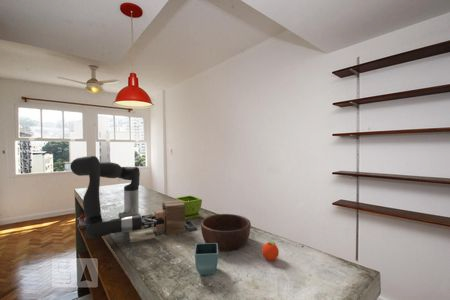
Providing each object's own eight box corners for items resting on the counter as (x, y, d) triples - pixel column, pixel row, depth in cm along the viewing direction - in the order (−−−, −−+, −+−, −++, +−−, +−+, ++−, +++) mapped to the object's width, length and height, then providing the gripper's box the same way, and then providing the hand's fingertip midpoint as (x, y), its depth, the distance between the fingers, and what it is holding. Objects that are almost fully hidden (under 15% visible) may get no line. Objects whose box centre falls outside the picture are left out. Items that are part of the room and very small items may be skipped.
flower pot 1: (184, 222, 133) (184, 202, 133) (173, 216, 144) (173, 197, 144) (202, 217, 143) (202, 198, 142) (191, 212, 153) (191, 194, 153)
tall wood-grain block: (154, 229, 120) (154, 210, 120) (180, 225, 127) (180, 206, 127) (156, 234, 114) (156, 213, 114) (183, 229, 121) (183, 210, 121)
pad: (128, 232, 118) (128, 231, 118) (151, 228, 123) (151, 228, 123) (130, 242, 105) (130, 242, 105) (155, 237, 111) (155, 237, 111)
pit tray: (182, 223, 130) (182, 221, 130) (190, 222, 133) (190, 220, 132) (188, 231, 120) (188, 228, 120) (196, 229, 122) (196, 226, 122)
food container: (128, 231, 119) (127, 213, 118) (118, 230, 120) (118, 213, 120) (140, 223, 131) (140, 207, 130) (132, 222, 132) (132, 206, 132)
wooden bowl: (255, 235, 114) (255, 216, 114) (243, 258, 91) (243, 235, 91) (212, 229, 123) (212, 211, 122) (191, 249, 99) (191, 227, 99)
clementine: (267, 252, 96) (268, 237, 96) (282, 257, 92) (282, 241, 92) (259, 259, 90) (259, 243, 90) (274, 265, 85) (274, 248, 85)
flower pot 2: (195, 265, 86) (195, 243, 85) (217, 264, 86) (217, 242, 86) (194, 279, 77) (194, 254, 77) (218, 277, 78) (218, 253, 77)
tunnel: (162, 227, 125) (162, 201, 125) (179, 224, 129) (179, 199, 129) (166, 235, 114) (166, 206, 114) (184, 231, 119) (184, 204, 118)
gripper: (131, 220, 105) (165, 216, 112) (130, 212, 118) (160, 208, 125) (131, 235, 105) (165, 230, 113) (130, 226, 118) (160, 221, 125)
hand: (162, 218), depth 119 cm, fingers open, 8 cm apart
